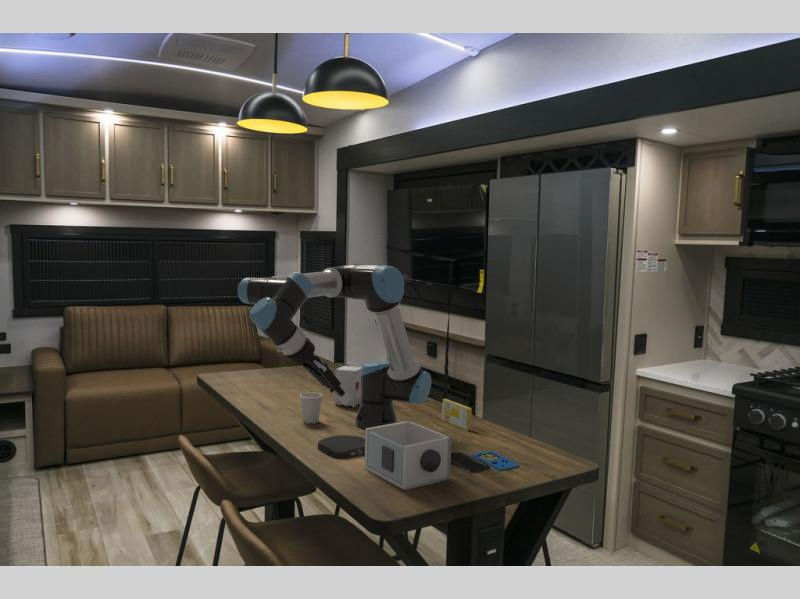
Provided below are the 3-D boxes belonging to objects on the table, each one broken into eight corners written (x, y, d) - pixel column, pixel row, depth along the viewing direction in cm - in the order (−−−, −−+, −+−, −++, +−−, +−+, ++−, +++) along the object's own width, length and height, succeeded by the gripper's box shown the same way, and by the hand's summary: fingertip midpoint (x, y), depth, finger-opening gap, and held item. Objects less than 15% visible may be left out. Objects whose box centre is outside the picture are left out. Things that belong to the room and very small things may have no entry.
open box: (408, 492, 169) (409, 448, 168) (364, 468, 187) (365, 428, 186) (453, 480, 179) (455, 439, 178) (407, 458, 196) (408, 420, 195)
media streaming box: (350, 440, 214) (350, 431, 214) (376, 452, 203) (376, 443, 202) (313, 448, 205) (313, 439, 205) (337, 461, 193) (338, 451, 193)
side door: (399, 483, 172) (400, 447, 171) (366, 465, 185) (366, 432, 184) (403, 482, 173) (404, 446, 172) (370, 464, 186) (371, 431, 185)
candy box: (471, 430, 228) (472, 408, 227) (466, 431, 227) (467, 408, 226) (445, 419, 242) (446, 398, 241) (441, 420, 241) (441, 398, 240)
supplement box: (354, 407, 255) (355, 371, 254) (334, 405, 258) (334, 369, 257) (362, 402, 264) (363, 367, 262) (343, 400, 267) (343, 365, 265)
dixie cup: (294, 422, 232) (295, 395, 231) (307, 417, 240) (308, 391, 239) (314, 425, 228) (314, 398, 228) (326, 420, 236) (326, 393, 235)
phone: (458, 451, 202) (491, 465, 190) (458, 455, 202) (491, 469, 190) (439, 456, 197) (471, 470, 185) (439, 459, 197) (471, 474, 185)
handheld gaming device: (499, 468, 188) (471, 453, 201) (499, 472, 188) (470, 456, 201) (521, 464, 192) (492, 449, 205) (521, 468, 192) (492, 453, 205)
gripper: (276, 352, 173) (328, 406, 184) (297, 360, 163) (351, 416, 174) (294, 332, 176) (344, 386, 187) (316, 339, 165) (368, 395, 176)
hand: (347, 400), depth 180 cm, fingers closed
